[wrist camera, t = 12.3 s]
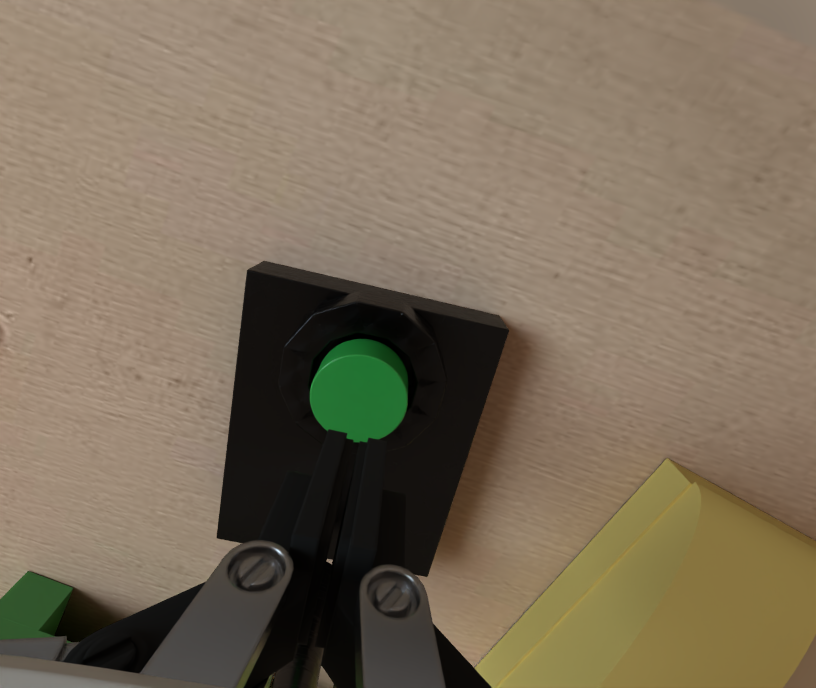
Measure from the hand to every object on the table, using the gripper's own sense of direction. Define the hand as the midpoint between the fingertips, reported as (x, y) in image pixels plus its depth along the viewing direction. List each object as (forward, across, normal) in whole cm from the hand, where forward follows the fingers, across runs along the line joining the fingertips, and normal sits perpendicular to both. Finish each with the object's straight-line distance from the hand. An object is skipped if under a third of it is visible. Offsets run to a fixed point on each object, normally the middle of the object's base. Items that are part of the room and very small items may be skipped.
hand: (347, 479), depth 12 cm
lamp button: (+6, 0, 0) cm, 6 cm away
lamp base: (+10, 0, +4) cm, 10 cm away
